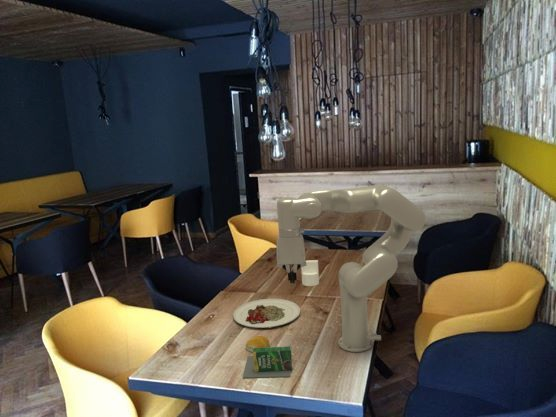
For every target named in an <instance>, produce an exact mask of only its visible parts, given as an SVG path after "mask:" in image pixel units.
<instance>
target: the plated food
mask: <svg viewBox="0 0 556 417" xmlns="http://www.w3.org/2000/svg"><path fill="white" fill-rule="evenodd" d="M300 314H301V308H300V306H299V305H298V304H297V303H295V302H293V301H292V300H288V299H283V298H261V299H256V300H252V301H249V302H245V303H243V304H241V305H240V306H238V307H237V308H236V309H235V310H234V311H233V314H232V318H233V319H234V321H235V322H236V323H237V324H239V325H242V326H244V327H249V328H256V329H257V328H258V329H259V328H261V329H263V328H274V327H279V326H283V325H286V324H288V323H291V322H293V321H294V320H296V319H297V318H298V317H299V315H300Z"/></svg>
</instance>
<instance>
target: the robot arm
mask: <svg viewBox="0 0 556 417" xmlns="http://www.w3.org/2000/svg"><path fill="white" fill-rule="evenodd" d="M276 206H277V207H276V211H277V225H278V236H277V237H276V268H279V269H280V268H281V269H283V270H284V271H285V272H286V273H287V281H289V284H295V283H296V281H297V279H298V278H297V272H298V270H299V269H301V267H304V266H306V249H305V241H304V236H303V234H305V228H301V226H300V225H301V224H300V219H308V220H309V219H310V220H311V219H315V218H317V217H318V216H320V215H321V213H322V212H323V211H335V212H340V213H347V214H354V213H360V212H365V211H366V212H367V211H374V210H380V211H382V212H383V213H384V214H385V215H387V216H388V217H389V218H390V225H389V227H388V229H387V230H386V232H385V233H383V235H382V236H381V237H379V238H378V239H377V240H376V241H375V242H373V243H372V244H371V245H370V246H368V247H367V248H366V249H365V250H364V251H363V254H362V260H363V263H364V265H363V266H362V265H361V264H360V263H358V262H355V261H348V262H346V263H343V265H341V267H340V269H339V270H338V285H339V292H340V304H341V306H340V309H341V310H340V311H341V314H340V315H341V331H342V332H341V334H342V336H340V338H339V339H338V346H339V348H341V349H342V350H345V351H347V352H352V353H360V352H361V353H362V352H365V351H368V350H370V349H371V348H372V347H373V342H374V341H376V342H377V341H382V336H381V334H377V332H369V325H368V324H369V322H368V321H369V320H368V296H370V295H371V294H373V293H374V292H375V291H376V290H378V289H379V288H380V287H382V285H384V284H385V283H386V282H388V280H390V279H391V278H393V276H394V275H395V273H396V272H397V269H398V263H399V262H398V259H397V258H398V257H397V256H398V255H399V253H401V252H402V251H403V250H404V249H405V247H406V246H407V245H408V244H409V242H410V240H411V236H412V232H416V231H419V230H421V229H422V228H423V227H424V226H425V224H426V220H427V218H426V214H425V212H424V210H422V209H421V208H420V207H419V206H418V205H417V204H415V203H414V202H412V201H411V200H410V199H408V198H407V197H406V196H404V195H403V194H401V193H400V192H399V191H398V190H396V189H395V188H393V187H390V186H387V185H384V184H383V185H382V184H380V185H379V184H377V185H369V186H362V187H354V188H346V189H330V190H320V191H319V190H317V191H312V192H305V193H302V194H300V195H299V196H298V197H297V198H296V197H291V196H290V197H289V196H288V197H281V198H278V200H277V201H276ZM291 265H293V269H291Z"/></svg>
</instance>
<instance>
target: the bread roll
mask: <svg viewBox="0 0 556 417" xmlns="http://www.w3.org/2000/svg"><path fill="white" fill-rule="evenodd" d="M267 347H270V340H269V339H268V338H267V337H266V336H264V335H257V336H254V337H252V338H251V339H249V340H248V341H247V342H246V343H245V349H246V350H247V351H248V352H250V353H253V348H267Z"/></svg>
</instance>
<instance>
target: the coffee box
mask: <svg viewBox="0 0 556 417" xmlns="http://www.w3.org/2000/svg"><path fill="white" fill-rule="evenodd" d="M252 356H253V359H254V370H255V372H266V371H284V370H291V371H292V370H293V361H292V346H271V347H270V346H269V347H267V348H253V352H252Z"/></svg>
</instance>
